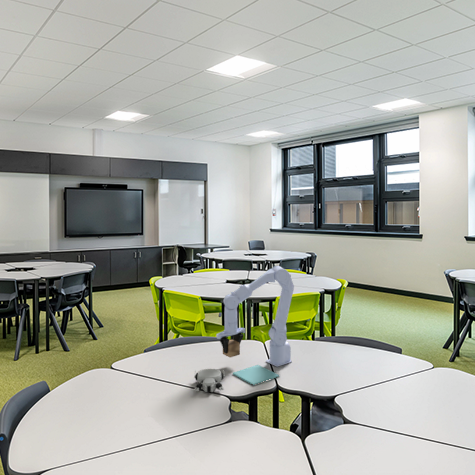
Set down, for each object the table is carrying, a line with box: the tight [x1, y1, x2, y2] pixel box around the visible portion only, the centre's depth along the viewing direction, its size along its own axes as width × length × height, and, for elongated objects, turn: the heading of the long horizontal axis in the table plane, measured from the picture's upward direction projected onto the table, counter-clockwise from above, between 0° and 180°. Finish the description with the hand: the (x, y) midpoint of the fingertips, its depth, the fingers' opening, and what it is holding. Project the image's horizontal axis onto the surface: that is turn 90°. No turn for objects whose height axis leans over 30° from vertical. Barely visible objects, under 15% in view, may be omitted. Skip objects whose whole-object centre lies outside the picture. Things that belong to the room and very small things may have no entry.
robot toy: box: [193, 368, 225, 393], centre depth 167 cm, size 12×4×15 cm
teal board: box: [232, 364, 280, 386], centre depth 177 cm, size 14×14×1 cm
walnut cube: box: [222, 339, 241, 358], centre depth 187 cm, size 6×6×6 cm
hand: (231, 351), depth 187 cm, fingers closed on walnut cube, 5 cm apart
